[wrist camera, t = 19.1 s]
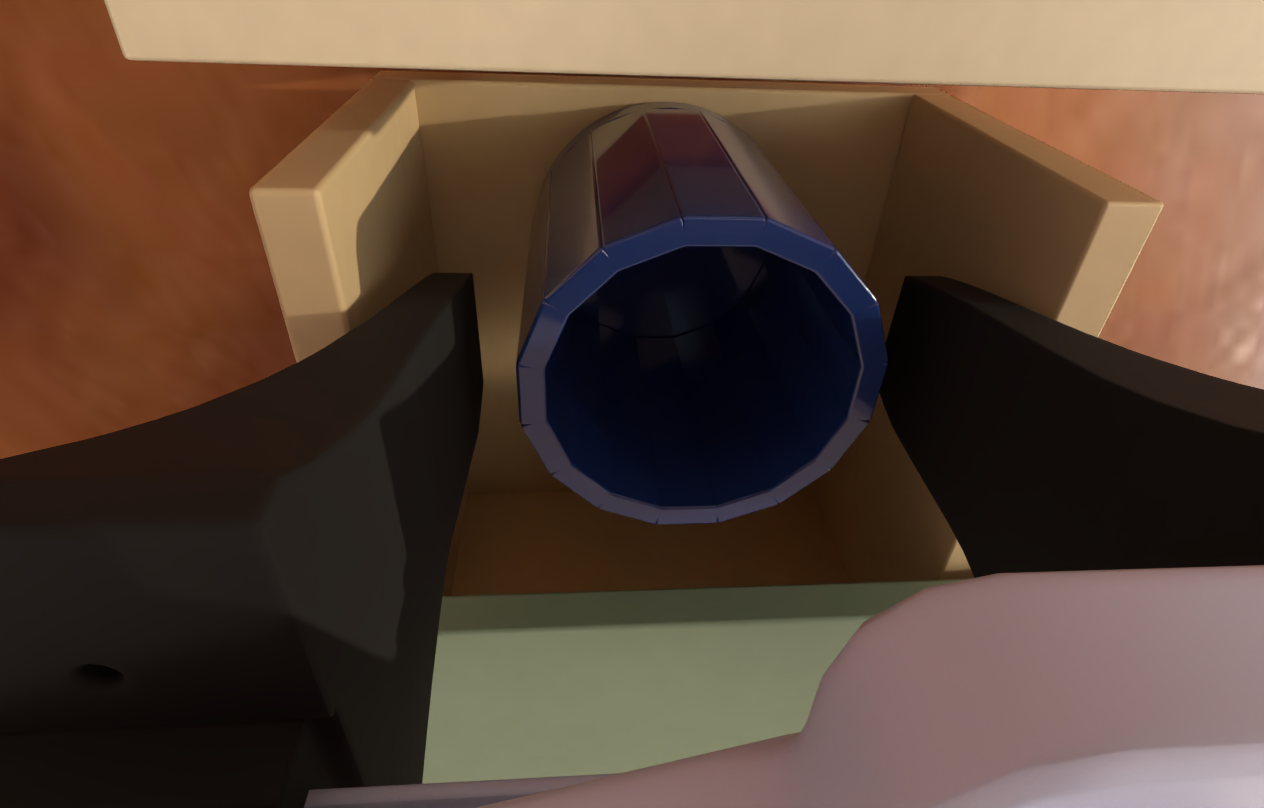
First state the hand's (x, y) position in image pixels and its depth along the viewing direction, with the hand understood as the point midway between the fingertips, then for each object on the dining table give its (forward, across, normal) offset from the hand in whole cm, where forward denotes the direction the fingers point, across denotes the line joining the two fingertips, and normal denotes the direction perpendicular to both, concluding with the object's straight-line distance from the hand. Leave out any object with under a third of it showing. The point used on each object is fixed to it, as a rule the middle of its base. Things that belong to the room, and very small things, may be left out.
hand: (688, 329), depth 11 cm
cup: (+4, 0, 0) cm, 4 cm away
